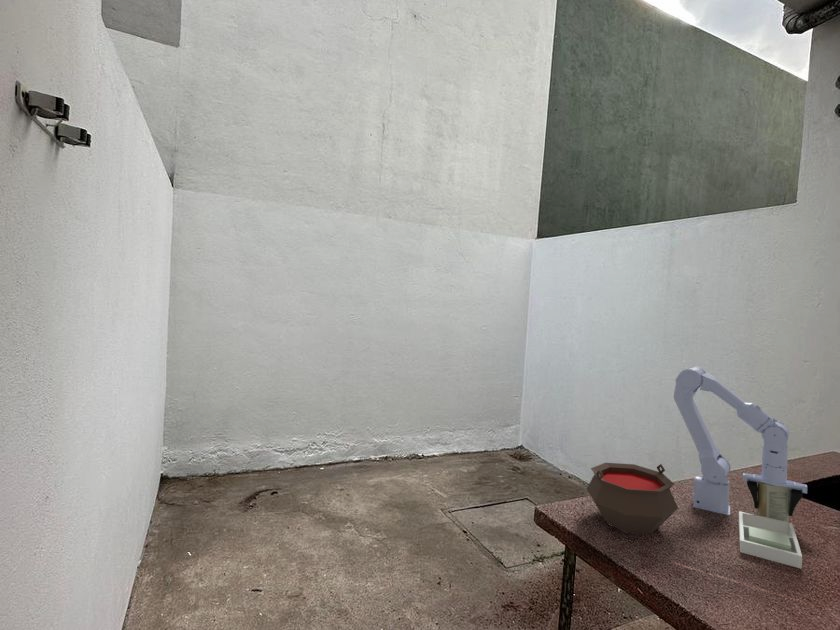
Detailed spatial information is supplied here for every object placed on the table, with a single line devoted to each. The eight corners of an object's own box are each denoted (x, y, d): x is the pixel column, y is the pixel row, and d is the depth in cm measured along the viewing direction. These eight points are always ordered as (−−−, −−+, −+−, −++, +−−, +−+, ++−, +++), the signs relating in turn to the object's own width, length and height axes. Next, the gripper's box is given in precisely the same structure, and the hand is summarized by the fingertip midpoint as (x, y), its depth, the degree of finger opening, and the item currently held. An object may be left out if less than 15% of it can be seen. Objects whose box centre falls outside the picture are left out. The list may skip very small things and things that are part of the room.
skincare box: (778, 521, 131) (780, 480, 131) (789, 528, 127) (791, 486, 126) (755, 520, 132) (756, 479, 131) (765, 527, 127) (766, 485, 127)
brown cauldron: (623, 550, 114) (625, 487, 114) (568, 508, 137) (570, 455, 137) (698, 538, 121) (700, 478, 120) (633, 500, 144) (635, 450, 143)
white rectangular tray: (739, 553, 113) (740, 540, 113) (738, 522, 130) (738, 511, 130) (801, 570, 106) (802, 556, 106) (791, 535, 123) (792, 523, 123)
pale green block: (748, 550, 114) (749, 535, 114) (748, 540, 119) (748, 526, 119) (790, 561, 109) (791, 546, 109) (787, 550, 114) (788, 535, 114)
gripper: (805, 466, 128) (803, 512, 128) (743, 455, 136) (741, 499, 137) (809, 473, 122) (807, 522, 122) (743, 462, 130) (742, 507, 131)
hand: (772, 511), depth 129 cm, fingers closed on skincare box, 7 cm apart
